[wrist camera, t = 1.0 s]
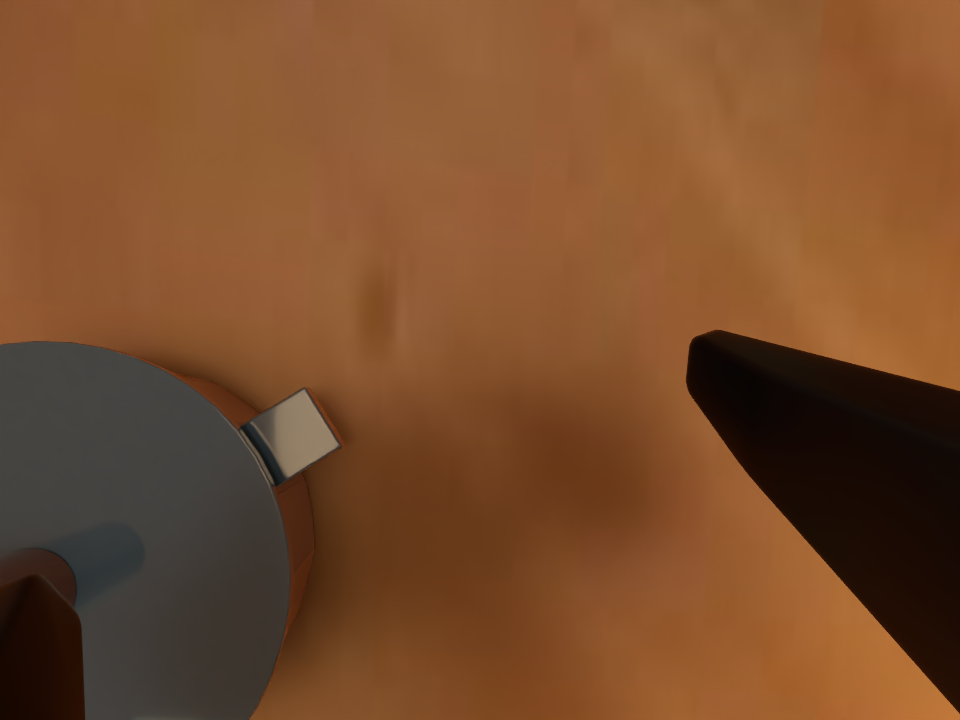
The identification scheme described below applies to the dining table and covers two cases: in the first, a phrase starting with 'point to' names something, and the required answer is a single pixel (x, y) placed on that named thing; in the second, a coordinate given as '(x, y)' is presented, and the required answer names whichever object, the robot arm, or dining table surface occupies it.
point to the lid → (144, 530)
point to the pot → (286, 460)
